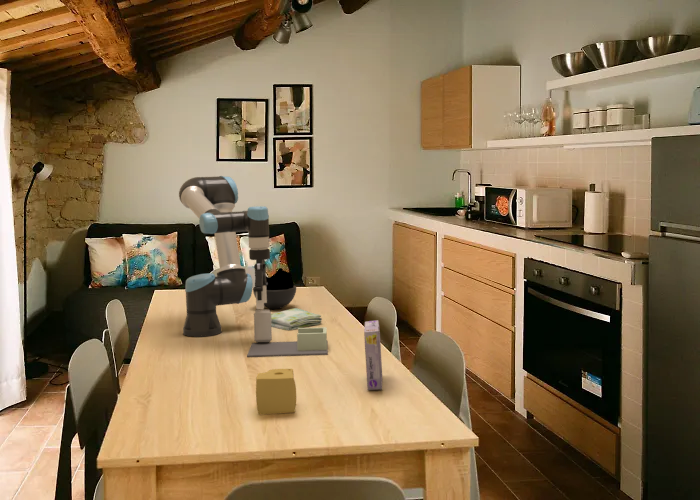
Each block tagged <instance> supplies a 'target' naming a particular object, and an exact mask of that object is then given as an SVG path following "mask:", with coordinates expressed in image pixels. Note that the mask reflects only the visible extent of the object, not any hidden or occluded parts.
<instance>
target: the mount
mask: <svg viewBox="0 0 700 500" xmlns="http://www.w3.org/2000/svg"><path fill="white" fill-rule="evenodd" d="M327 329H328V328H327V326H324V327H323V326H322V327H303V328H298V329H297V334H296V337H297V338H296V339H297V341H295V340H294V341H293V340H292V341H270V342H261V343H257V342H252V343H251V344H250V347H249V350H248V352H247V355H246V357H247V358H263V357H264V358H266V357H267V358H270V357H295V356H296V357H299V356H301V357H302V356H303V357H304V356H327V355H328V352H329V351H328V349H329V348H328V345H329V343H328V337H327V336H328V335H327V334H328V333H327Z"/></svg>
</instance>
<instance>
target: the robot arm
mask: <svg viewBox="0 0 700 500" xmlns="http://www.w3.org/2000/svg"><path fill="white" fill-rule="evenodd" d="M178 197H179V201H180V202H181V204H182V205H183V206H184V207H185V208H187V209H190V210H191V211H192V212H193V213H194V215H195V216H196V217H197V218H198V220H199V223H198V224H199V229H200V231H201V233H203V234H210V235H213V234H214V239H215V246H216V253H217V260H218V265H219V269H218V270H217V272H216V275H215V274H214V273H212V272H211V273H210V272H209V273H200V274H196V275H192V276H190V277H188V278H187V279H186V280H185V286H184V287H185V289H184V291H185V302H186V303H185V305H186V316H185V320H184V324H183V329H182V334H183V335H184V336H185V335H187V336H186V337H191V336H194V338H197V337H198V338H200V337H212V336H215V335H220V334H221V333H222V325H221V322H220V320H219V317H218V314H217V306H225V305H234V304H243V303H247V302H248V301H249V300H250V299H251V297H252V295H253V288H254V287H255V289H254V291H256V298H255V306H256V309H255V310H265V307H264V303H267V294H266V286H265V285H268V282H266V276H267V274H266V273H267V272H266V271H267V270H266V269H267V264H266V261H265V260H269V259H270V258H271V252H270V251H271V250H270V242H271V241H272V240H271V238H270V226H269V225H270V222H269V221H270V219H269V218H270V216H269V209H268V207H267V206H263V205H261V206H258V205H257V206H255V205H254V206H249V207H247V210H242V211H233V210H234V208H236V204H237V203H238V200H239V190H238V187H237V183H236V181H235V180H234V179H233V177H230V176H222V175H220V176H196V177H191V178H189V179H187V180H186V181H184V182H183V183H182V184H181V186H180V188H179V191H178ZM238 232H247V233H248V248H249V250H248V252H249V253H248V256H249V260H251V261H256V263H255V264H254V266H253V267H254V276H255V277H254V278H255V280H254V285H253V279H252V275H251V274H250V273H247V272H246V268H245V267H243V266H242V265H241V258H240V252H239V246H238V241H237V234H236V233H238Z"/></svg>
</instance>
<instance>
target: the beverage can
mask: <svg viewBox="0 0 700 500" xmlns="http://www.w3.org/2000/svg"><path fill="white" fill-rule="evenodd" d="M271 314H272V312H271V310H270V309H255V310H254V314H253V324H254V325H253V331H254V332H253V335H254V342H255V343H261V342H272V340H273V339H272V338H273V337H272V336H273V334H272V330H273V329H272V328H273V327H271Z"/></svg>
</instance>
